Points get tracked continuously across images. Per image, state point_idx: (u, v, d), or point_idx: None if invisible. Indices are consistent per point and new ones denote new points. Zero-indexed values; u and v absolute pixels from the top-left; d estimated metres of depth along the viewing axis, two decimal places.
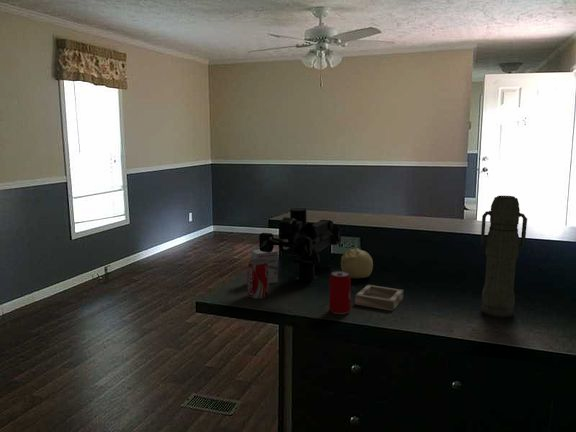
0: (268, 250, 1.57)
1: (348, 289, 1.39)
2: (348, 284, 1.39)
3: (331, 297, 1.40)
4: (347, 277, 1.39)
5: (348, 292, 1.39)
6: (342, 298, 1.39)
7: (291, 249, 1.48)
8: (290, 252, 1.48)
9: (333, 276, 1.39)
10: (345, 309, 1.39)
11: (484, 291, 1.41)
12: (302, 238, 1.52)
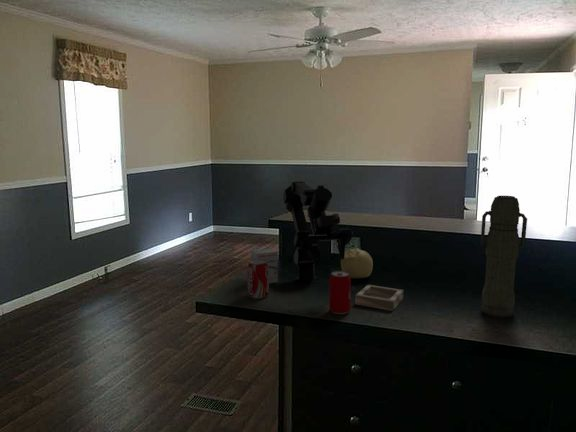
0: None
1: (348, 289, 1.39)
2: (348, 284, 1.39)
3: (331, 297, 1.40)
4: (347, 277, 1.39)
5: (348, 292, 1.39)
6: (342, 298, 1.39)
7: (344, 252, 1.50)
8: None
9: (333, 276, 1.39)
10: (345, 309, 1.39)
11: (484, 291, 1.41)
12: (346, 234, 1.51)
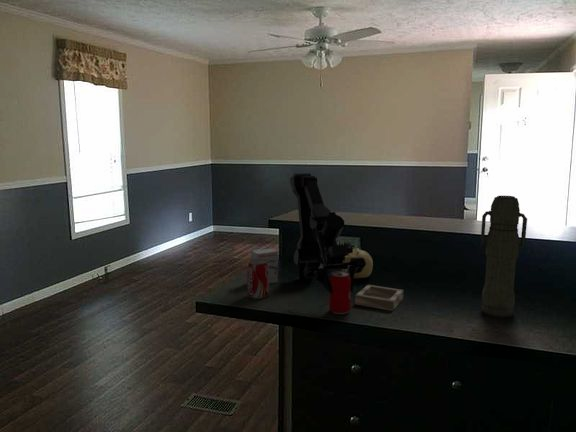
0: None
1: (348, 289, 1.39)
2: (348, 284, 1.39)
3: (331, 297, 1.40)
4: (347, 277, 1.39)
5: (348, 292, 1.39)
6: (342, 298, 1.39)
7: None
8: None
9: (333, 276, 1.39)
10: (345, 308, 1.39)
11: (484, 291, 1.41)
12: (359, 264, 1.44)
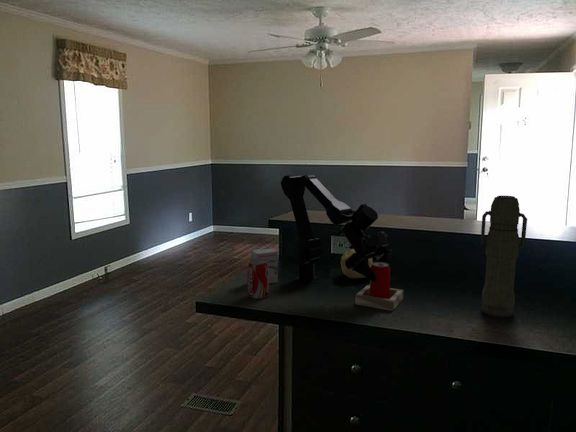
0: None
1: None
2: None
3: (376, 287, 1.48)
4: None
5: (389, 280, 1.49)
6: (387, 287, 1.48)
7: None
8: None
9: (378, 267, 1.47)
10: (388, 296, 1.49)
11: (484, 291, 1.41)
12: (389, 250, 1.54)
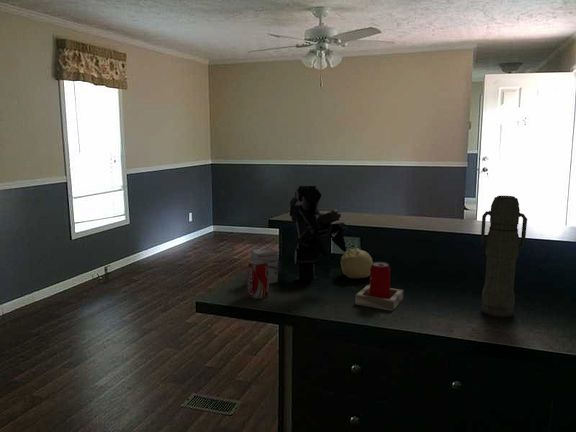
0: None
1: None
2: None
3: (376, 287, 1.48)
4: None
5: (389, 280, 1.49)
6: (387, 287, 1.48)
7: None
8: None
9: (378, 267, 1.47)
10: (388, 296, 1.49)
11: (484, 291, 1.41)
12: (343, 228, 1.63)
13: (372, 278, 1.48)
